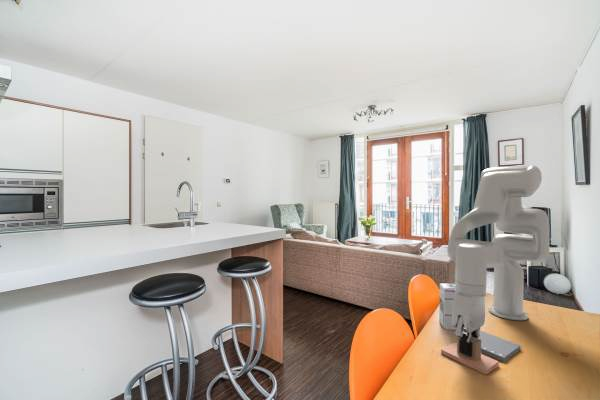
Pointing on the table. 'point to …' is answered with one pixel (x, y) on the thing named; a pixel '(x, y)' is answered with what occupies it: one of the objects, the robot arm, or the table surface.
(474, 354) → the pink slab with block
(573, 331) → the table surface
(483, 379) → the table surface
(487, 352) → the grey dotted square slab
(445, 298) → the syrup box
